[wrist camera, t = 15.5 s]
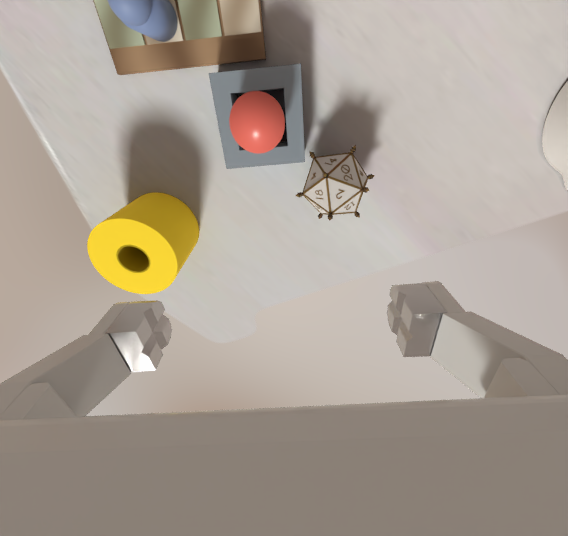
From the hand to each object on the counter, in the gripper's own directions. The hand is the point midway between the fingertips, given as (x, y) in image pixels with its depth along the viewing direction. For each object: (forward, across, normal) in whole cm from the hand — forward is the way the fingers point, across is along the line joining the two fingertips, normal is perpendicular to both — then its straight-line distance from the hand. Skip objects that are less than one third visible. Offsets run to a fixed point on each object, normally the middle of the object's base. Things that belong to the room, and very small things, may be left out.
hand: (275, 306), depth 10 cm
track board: (+29, +9, -14) cm, 33 cm away
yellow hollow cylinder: (+29, +18, +8) cm, 35 cm away
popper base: (+29, +2, -4) cm, 30 cm away
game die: (+29, -6, +3) cm, 30 cm away
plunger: (+28, +2, -5) cm, 29 cm away
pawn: (+28, +11, -14) cm, 33 cm away
